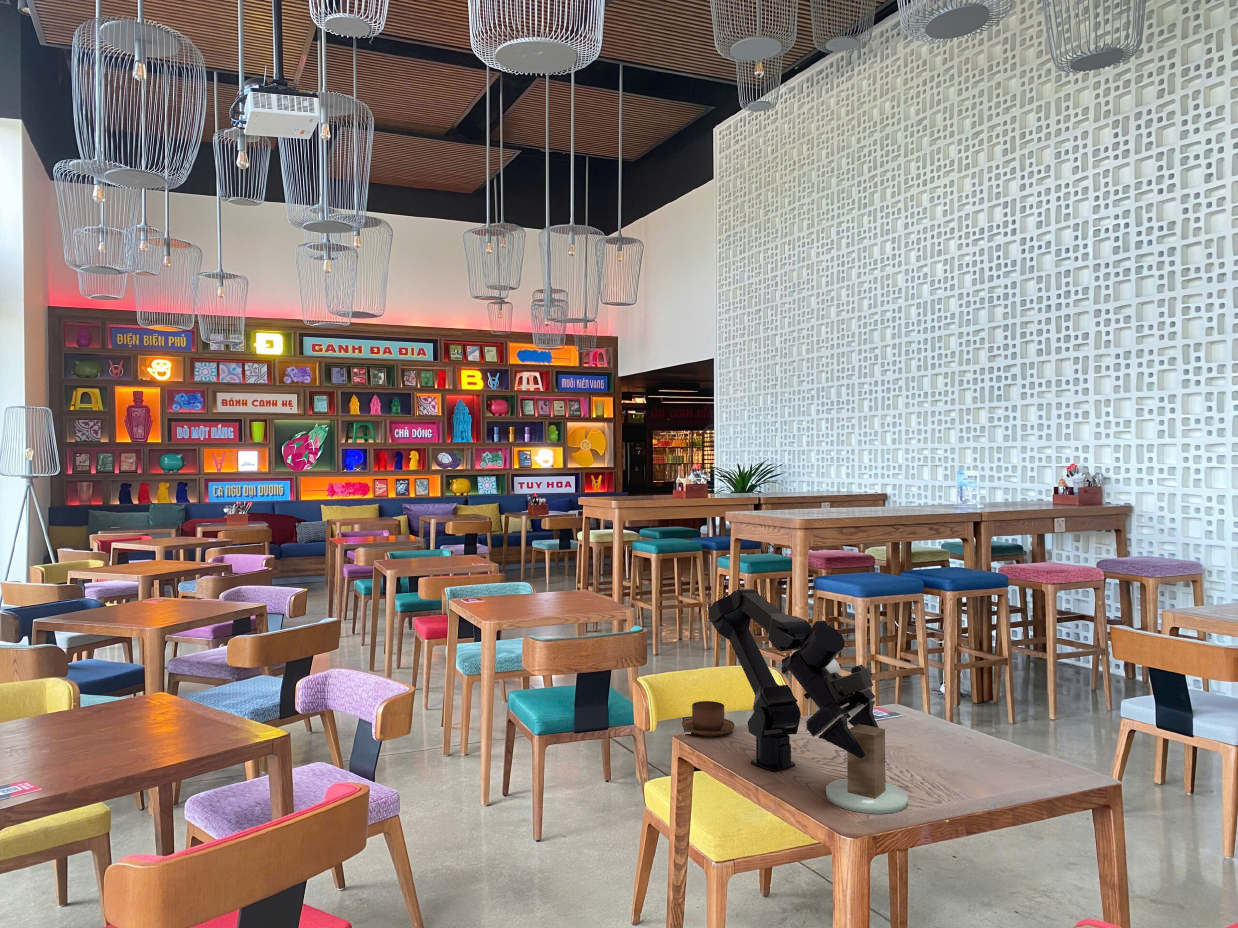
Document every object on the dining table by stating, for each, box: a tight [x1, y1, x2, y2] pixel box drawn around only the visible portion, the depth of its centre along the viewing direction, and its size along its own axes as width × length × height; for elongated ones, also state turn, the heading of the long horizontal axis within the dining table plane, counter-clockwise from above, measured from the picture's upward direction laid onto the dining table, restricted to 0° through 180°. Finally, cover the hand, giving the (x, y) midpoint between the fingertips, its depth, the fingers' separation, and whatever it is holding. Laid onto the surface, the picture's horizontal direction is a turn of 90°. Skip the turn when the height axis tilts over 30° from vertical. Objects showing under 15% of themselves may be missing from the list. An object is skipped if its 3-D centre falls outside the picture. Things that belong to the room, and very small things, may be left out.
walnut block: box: [846, 724, 886, 799], centre depth 148 cm, size 5×5×11 cm
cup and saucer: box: [681, 700, 736, 737], centre depth 189 cm, size 12×12×6 cm
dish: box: [825, 777, 909, 815], centre depth 148 cm, size 14×14×1 cm
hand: (873, 750), depth 147 cm, fingers open, 9 cm apart
